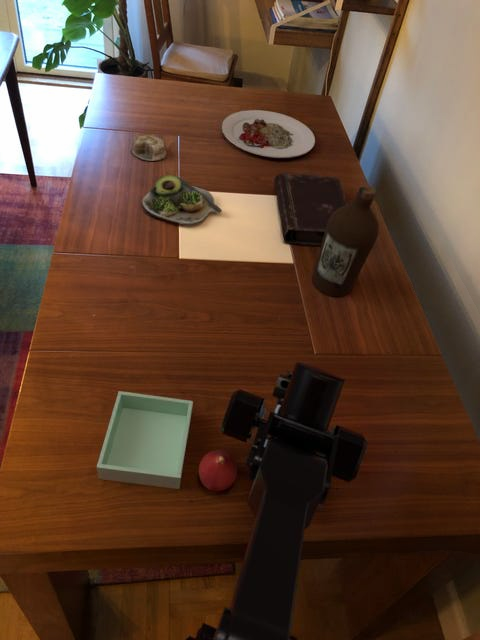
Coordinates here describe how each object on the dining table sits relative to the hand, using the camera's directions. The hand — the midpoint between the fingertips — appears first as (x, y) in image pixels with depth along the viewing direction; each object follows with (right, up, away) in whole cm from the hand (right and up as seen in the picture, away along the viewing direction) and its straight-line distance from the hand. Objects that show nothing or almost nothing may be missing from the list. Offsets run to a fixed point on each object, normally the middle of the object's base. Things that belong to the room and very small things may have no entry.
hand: (293, 421), depth 72 cm
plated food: (+1, +74, +81) cm, 110 cm away
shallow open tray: (-23, -5, +5) cm, 24 cm away
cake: (-34, +63, +65) cm, 97 cm away
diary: (+11, +43, +55) cm, 70 cm away
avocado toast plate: (-24, +45, +50) cm, 71 cm away
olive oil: (+13, +24, +38) cm, 46 cm away
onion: (-12, -10, +3) cm, 16 cm away
